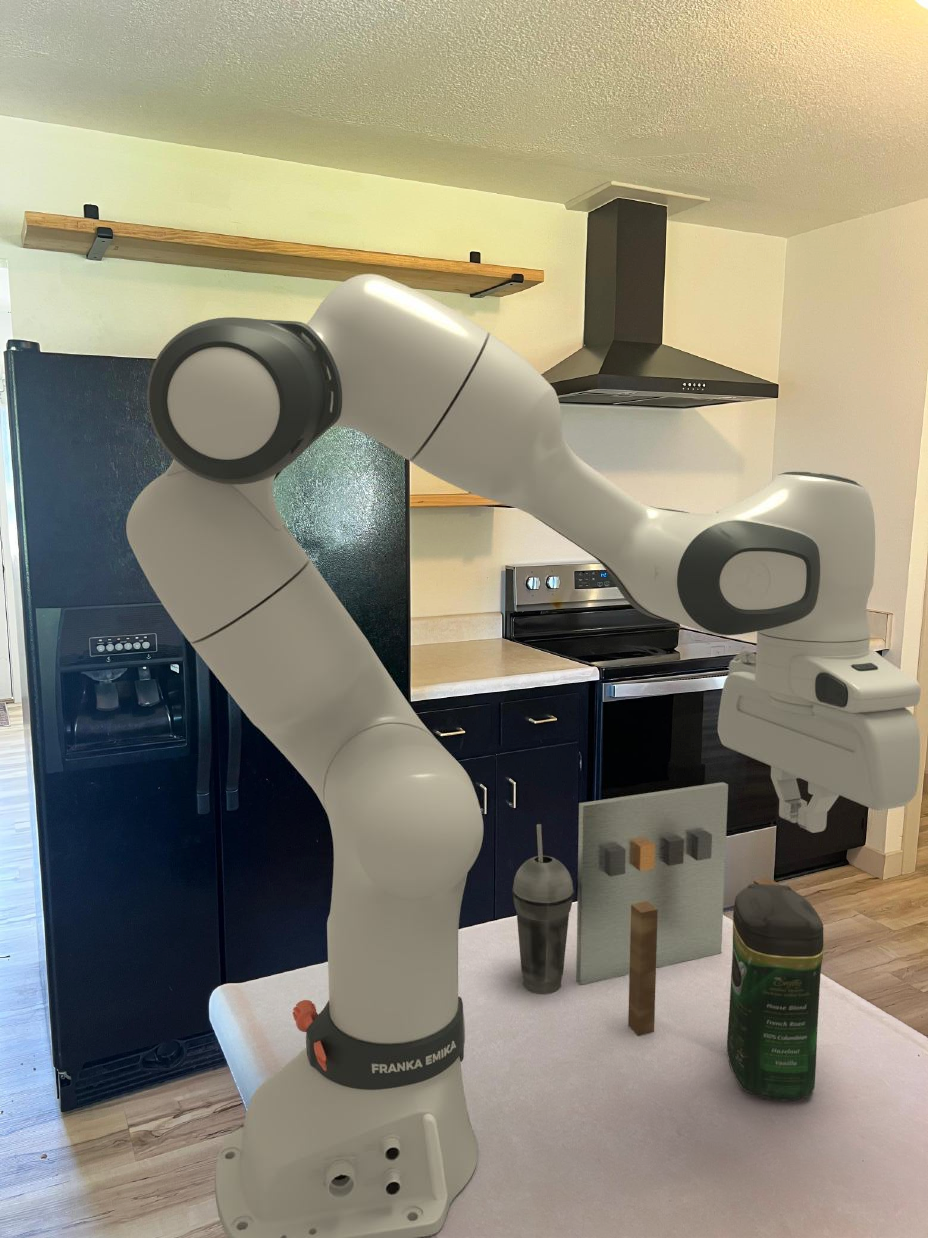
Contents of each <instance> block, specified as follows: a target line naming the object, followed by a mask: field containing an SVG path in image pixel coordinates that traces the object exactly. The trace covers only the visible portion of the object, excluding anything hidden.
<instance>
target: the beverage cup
mask: <svg viewBox="0 0 928 1238" xmlns="http://www.w3.org/2000/svg"><path fill="white" fill-rule="evenodd" d="M536 835H537V836H536V837H537V838H536V839H537V855H536V856H533V857H531V858H529V859H527V860H525V861H524V863H522V864H521V866H520V867H518V869H517V871H516V873H515V875H514V879H513V885H512V888H511V893H512V895H513V904H514V908H515V910H516V920H517V922H516V923H517V932H518V934H517V935H518V944H519V946H518V947H519V958H520V969H521V974H522V979H523V980H522V982H523V983H522V985H523V986H524V988H525V989H526V990H527V991H529V992H531V993H534V994H539V995H547V994H552V993H555V992H558V990H560V988H561V987H562V979H563V975H564V967H565V955H566V948H567V938H568V937H567V936H568V928H569V927H568V926H569V917H570V913H571V909H572V906H573V905H572V904H573V898H574V897H575V889H574V886H573V884H574V883H573V879H572V876H571V874H570V872H569V870H568V869H567V867H566V866H565V865H564V864H563V863H562V862H561V861H560V860H559V859H556V858H555V857H553V856H548V855H543V840H542V839H543V838H542V837H543V836H542V824H540V823H538V824H536Z"/></svg>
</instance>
